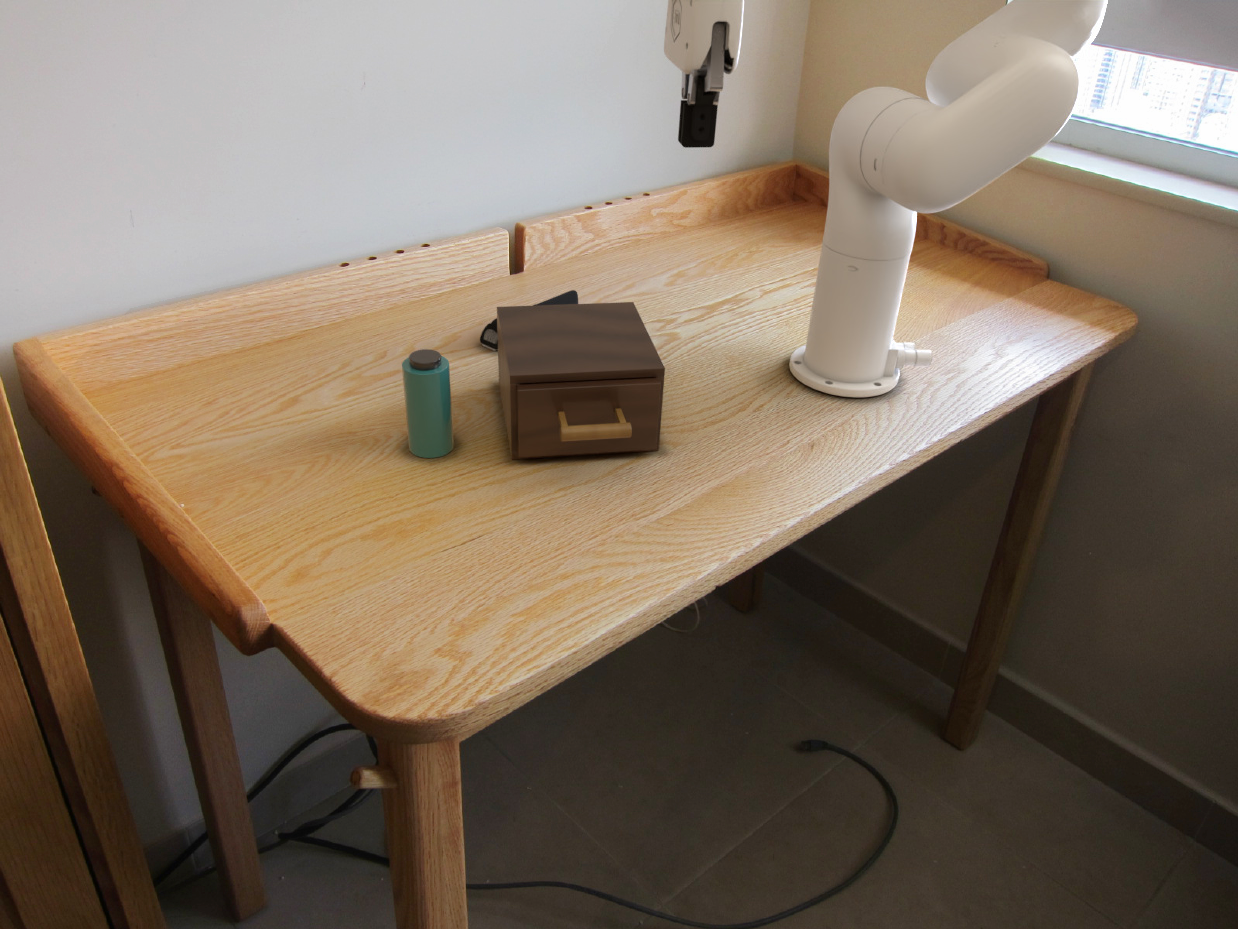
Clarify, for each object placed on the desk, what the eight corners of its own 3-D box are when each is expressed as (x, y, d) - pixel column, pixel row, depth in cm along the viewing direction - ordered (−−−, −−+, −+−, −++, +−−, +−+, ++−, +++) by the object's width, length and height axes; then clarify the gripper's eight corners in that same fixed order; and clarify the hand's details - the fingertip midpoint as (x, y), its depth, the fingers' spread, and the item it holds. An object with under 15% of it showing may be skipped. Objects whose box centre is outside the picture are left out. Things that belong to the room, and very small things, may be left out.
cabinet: (659, 450, 99) (665, 368, 94) (511, 460, 96) (509, 375, 91) (629, 377, 112) (633, 301, 107) (498, 384, 109) (496, 306, 104)
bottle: (456, 435, 99) (451, 346, 94) (450, 459, 96) (445, 367, 90) (413, 434, 99) (405, 344, 94) (405, 457, 96) (397, 365, 90)
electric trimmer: (585, 316, 126) (586, 292, 124) (499, 353, 115) (499, 328, 114) (564, 307, 128) (564, 284, 126) (477, 343, 117) (476, 319, 116)
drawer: (665, 473, 93) (671, 405, 89) (523, 482, 91) (522, 413, 87) (628, 380, 109) (631, 319, 105) (505, 386, 107) (504, 324, 103)
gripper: (652, -80, 90) (642, 125, 100) (692, -65, 78) (675, 167, 88) (731, -77, 91) (713, 125, 101) (782, -62, 79) (755, 167, 89)
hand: (695, 144), depth 94 cm, fingers closed
